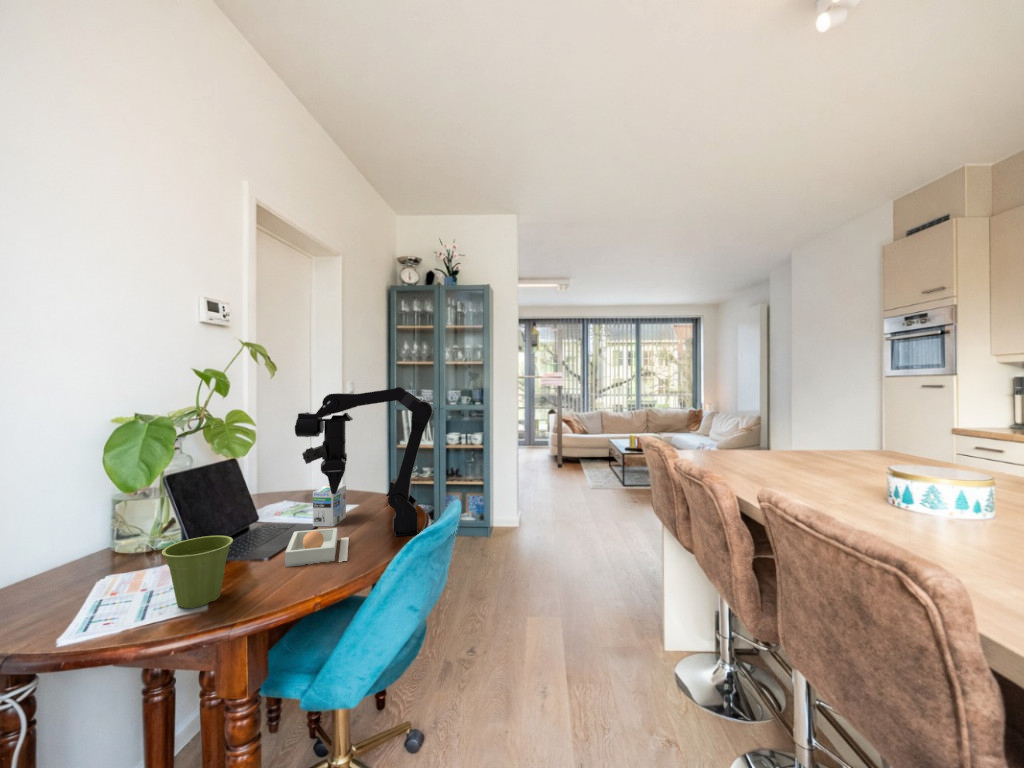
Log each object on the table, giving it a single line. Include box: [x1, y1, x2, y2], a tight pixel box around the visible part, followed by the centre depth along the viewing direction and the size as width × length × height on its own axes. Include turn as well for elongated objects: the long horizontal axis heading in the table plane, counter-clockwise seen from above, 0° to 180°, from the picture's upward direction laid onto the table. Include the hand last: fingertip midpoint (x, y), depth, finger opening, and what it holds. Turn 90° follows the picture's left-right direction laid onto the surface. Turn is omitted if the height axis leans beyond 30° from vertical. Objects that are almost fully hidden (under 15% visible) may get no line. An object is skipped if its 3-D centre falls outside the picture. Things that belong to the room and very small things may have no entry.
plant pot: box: [161, 535, 234, 609], centre depth 91 cm, size 12×12×11 cm
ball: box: [303, 531, 324, 549], centre depth 118 cm, size 5×5×5 cm
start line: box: [338, 536, 350, 563], centre depth 120 cm, size 2×18×1 cm, turn 19°
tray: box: [284, 527, 338, 568], centre depth 118 cm, size 11×16×4 cm
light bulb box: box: [312, 484, 347, 528], centre depth 144 cm, size 11×7×11 cm, turn 179°
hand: (334, 490), depth 131 cm, fingers open, 9 cm apart
